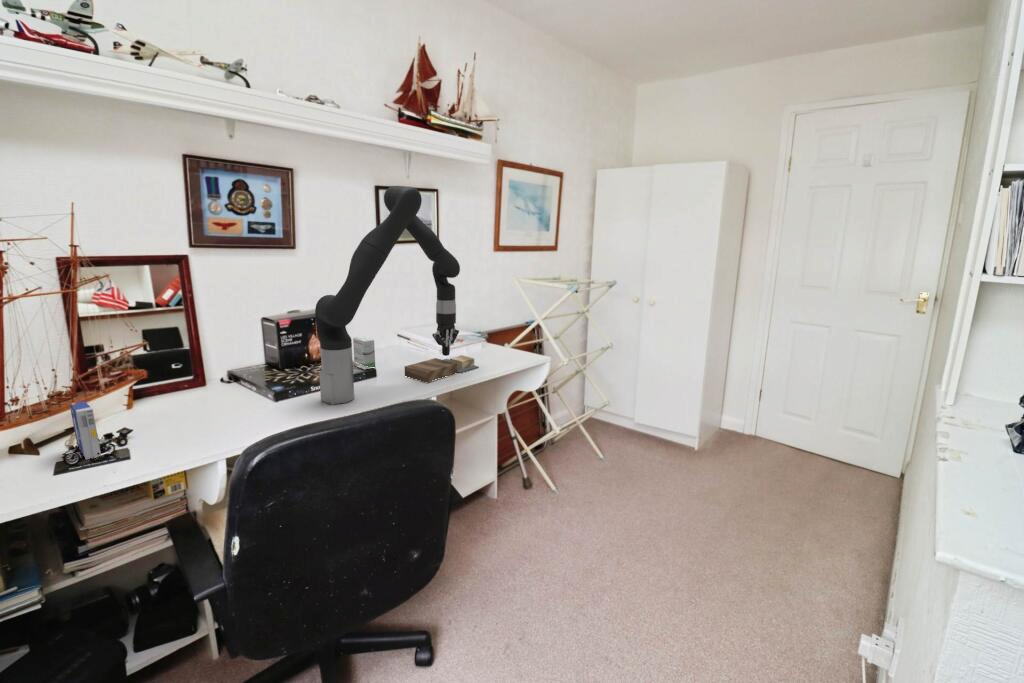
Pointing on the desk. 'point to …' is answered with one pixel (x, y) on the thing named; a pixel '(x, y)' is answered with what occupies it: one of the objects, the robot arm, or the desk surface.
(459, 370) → the charcoal mat
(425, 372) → the walnut stand
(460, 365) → the maple block
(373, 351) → the ink box
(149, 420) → the desk surface
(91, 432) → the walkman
